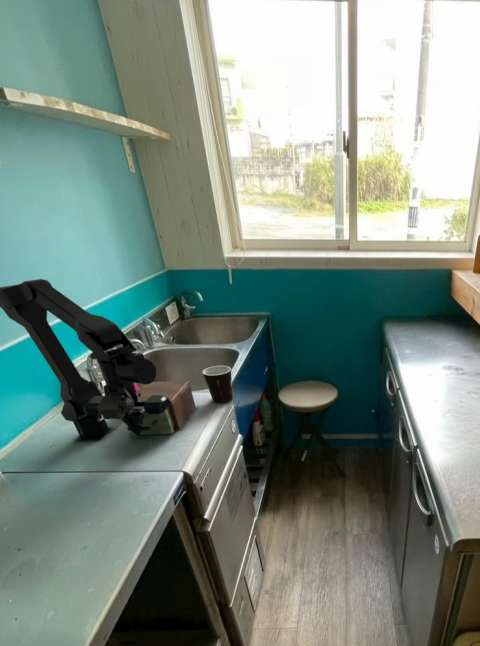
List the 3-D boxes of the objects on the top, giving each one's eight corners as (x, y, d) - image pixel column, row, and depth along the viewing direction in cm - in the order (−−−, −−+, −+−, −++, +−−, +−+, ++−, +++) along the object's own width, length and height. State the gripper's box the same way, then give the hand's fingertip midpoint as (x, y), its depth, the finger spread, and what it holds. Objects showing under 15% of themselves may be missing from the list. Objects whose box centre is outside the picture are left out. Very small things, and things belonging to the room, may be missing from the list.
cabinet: (179, 430, 112) (171, 400, 107) (135, 431, 112) (124, 401, 107) (196, 408, 124) (188, 380, 119) (156, 408, 124) (147, 381, 119)
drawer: (165, 442, 105) (157, 418, 101) (122, 443, 105) (112, 418, 100) (188, 412, 120) (182, 389, 116) (151, 412, 120) (143, 390, 116)
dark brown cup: (216, 393, 134) (210, 365, 128) (240, 394, 133) (235, 366, 127) (200, 408, 124) (192, 378, 119) (226, 409, 123) (219, 379, 118)
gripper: (57, 391, 87) (85, 451, 95) (142, 390, 87) (162, 450, 96) (85, 373, 96) (108, 429, 105) (162, 372, 96) (178, 428, 105)
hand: (138, 434), depth 102 cm, fingers closed
